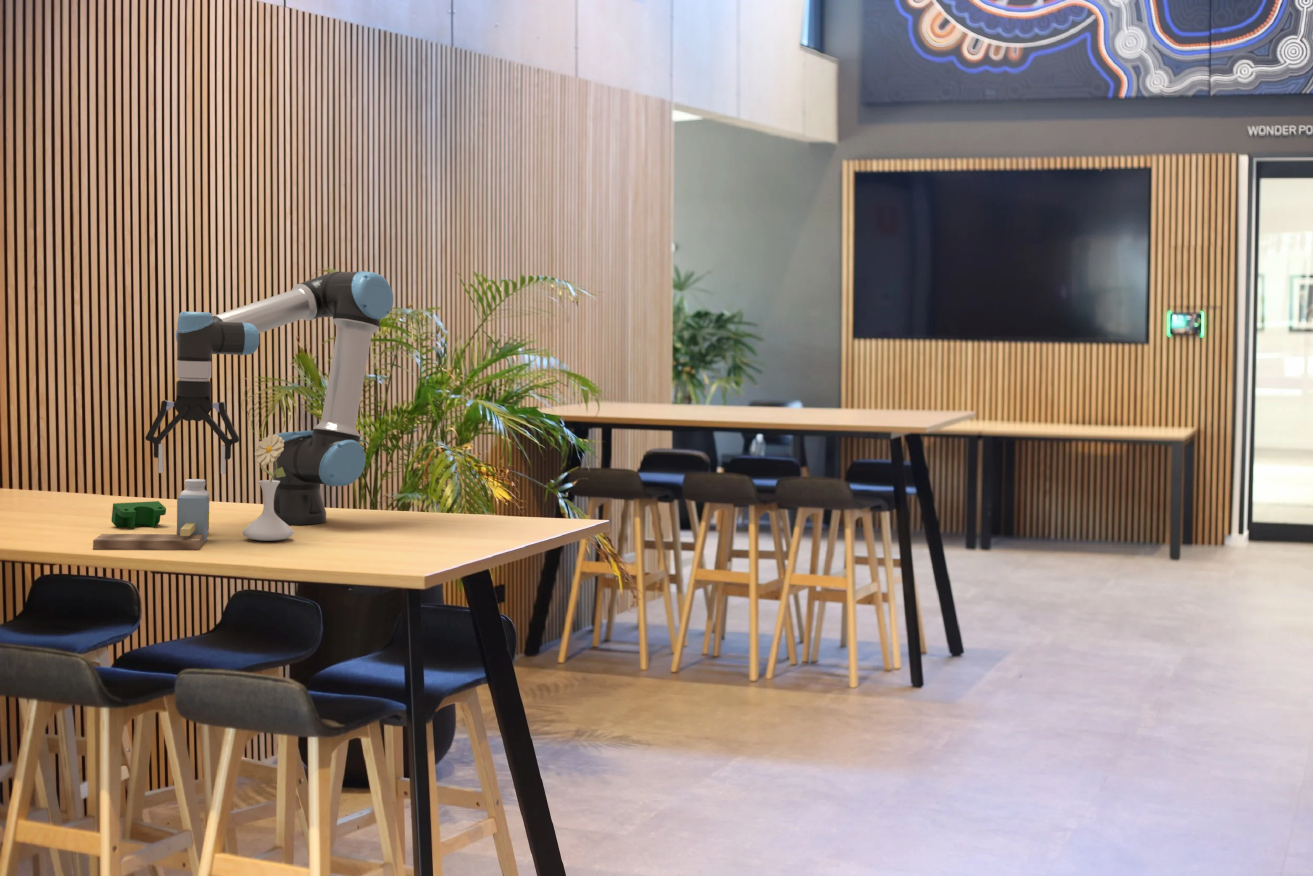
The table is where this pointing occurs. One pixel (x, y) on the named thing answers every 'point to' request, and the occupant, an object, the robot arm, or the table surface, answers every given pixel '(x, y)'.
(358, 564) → the table surface
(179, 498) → the pale blue upright panel
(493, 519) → the table surface
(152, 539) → the board
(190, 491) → the supplement bottle
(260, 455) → the flower in vase
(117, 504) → the clamp
